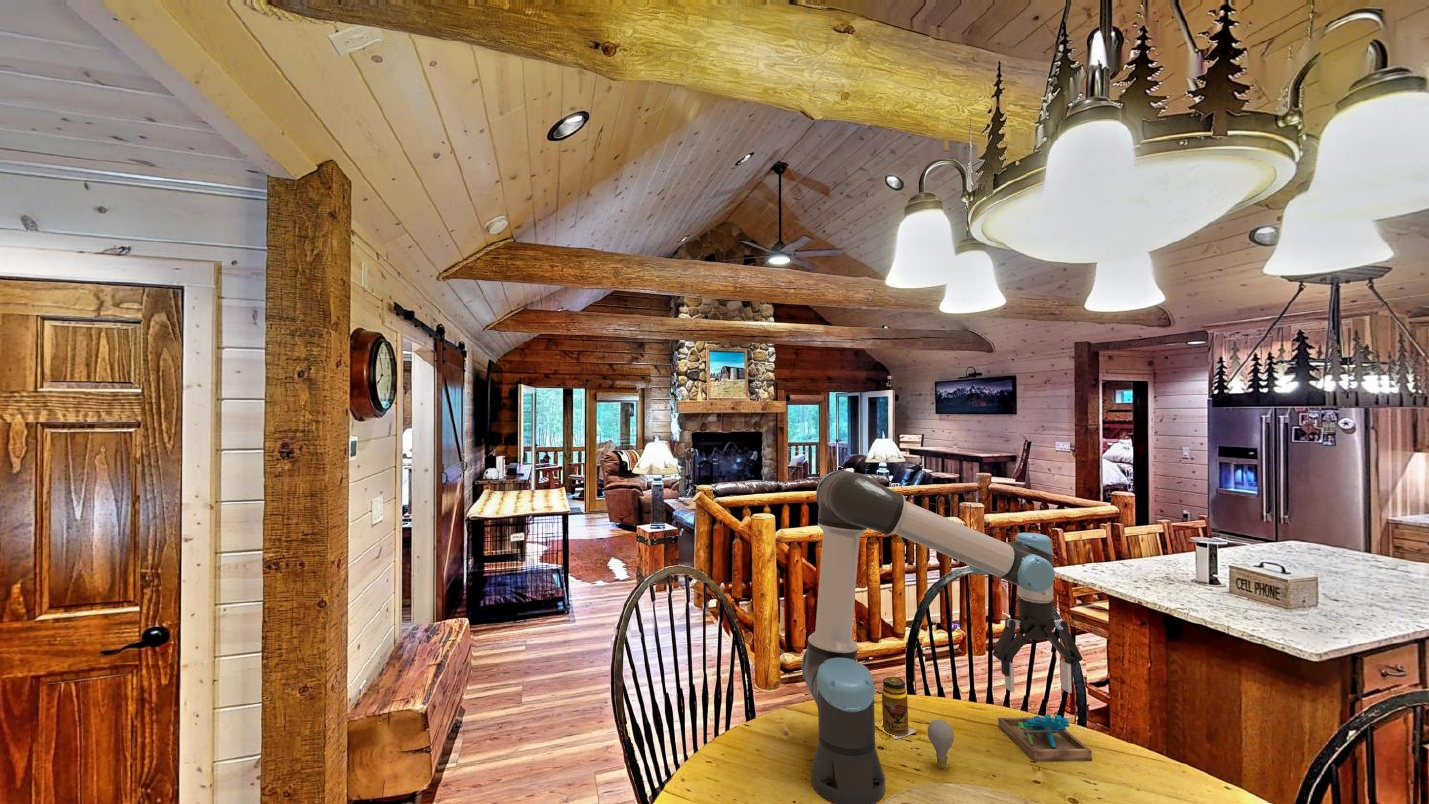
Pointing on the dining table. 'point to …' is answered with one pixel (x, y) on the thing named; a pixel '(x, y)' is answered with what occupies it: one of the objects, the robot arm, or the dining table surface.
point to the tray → (1045, 743)
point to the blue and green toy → (1044, 727)
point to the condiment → (895, 708)
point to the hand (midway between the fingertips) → (1038, 690)
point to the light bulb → (941, 740)
